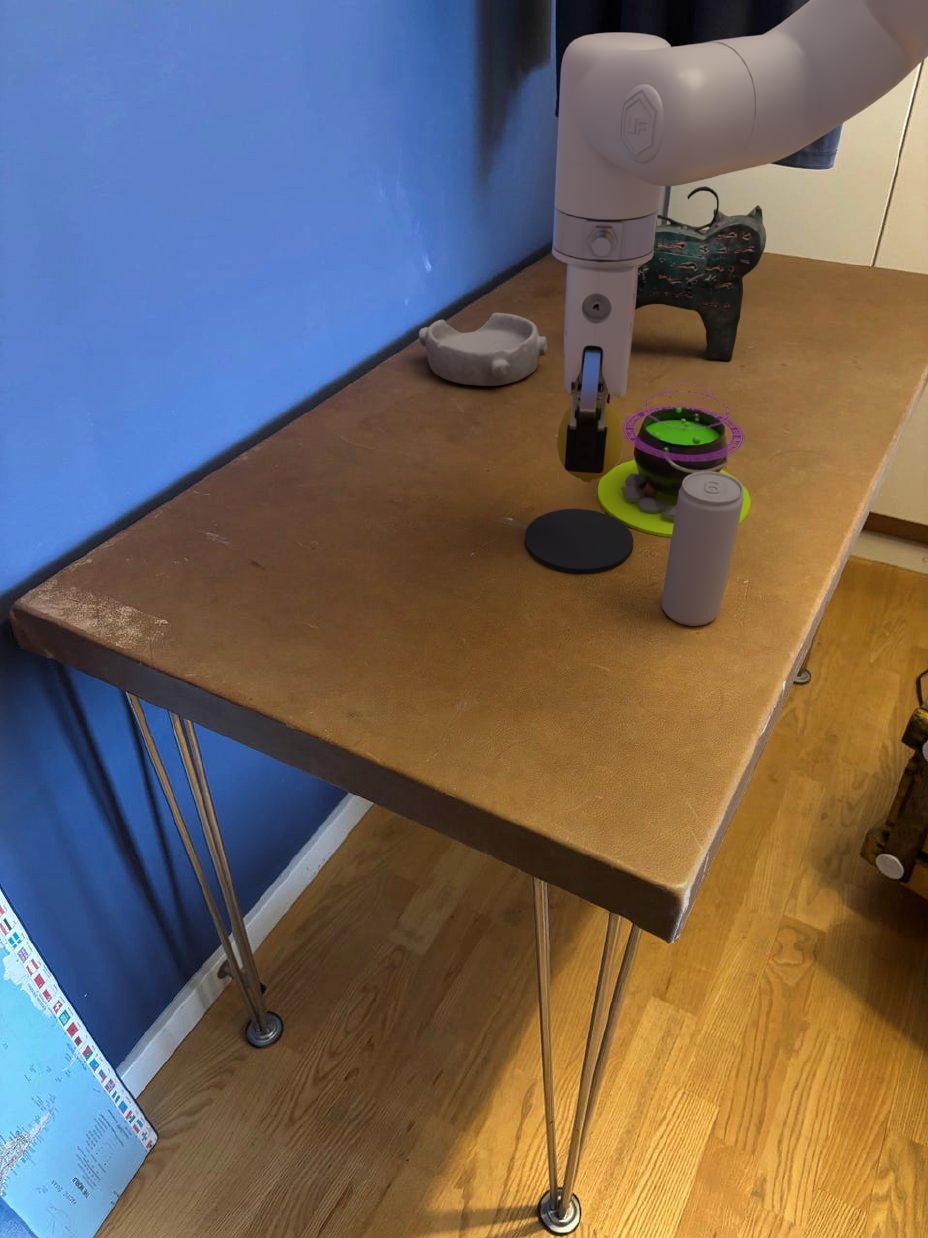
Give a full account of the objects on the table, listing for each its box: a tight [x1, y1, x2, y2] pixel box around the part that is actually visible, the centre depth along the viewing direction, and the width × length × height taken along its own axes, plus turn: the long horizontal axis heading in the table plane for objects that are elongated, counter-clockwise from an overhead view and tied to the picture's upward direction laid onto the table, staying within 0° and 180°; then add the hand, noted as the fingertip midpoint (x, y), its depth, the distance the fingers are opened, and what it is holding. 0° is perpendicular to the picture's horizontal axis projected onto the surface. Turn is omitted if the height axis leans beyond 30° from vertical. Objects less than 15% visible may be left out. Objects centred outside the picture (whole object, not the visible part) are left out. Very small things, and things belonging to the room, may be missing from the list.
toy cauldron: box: [596, 382, 751, 538], centre depth 87 cm, size 15×15×11 cm
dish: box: [418, 312, 548, 387], centre depth 113 cm, size 14×14×5 cm
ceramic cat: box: [635, 186, 767, 362], centre depth 112 cm, size 20×6×20 cm, turn 76°
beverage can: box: [661, 471, 744, 627], centre depth 72 cm, size 5×5×12 cm
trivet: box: [523, 508, 634, 575], centre depth 84 cm, size 10×10×1 cm
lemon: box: [556, 400, 624, 483], centre depth 78 cm, size 6×6×8 cm
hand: (586, 450), depth 78 cm, fingers closed on lemon, 5 cm apart
